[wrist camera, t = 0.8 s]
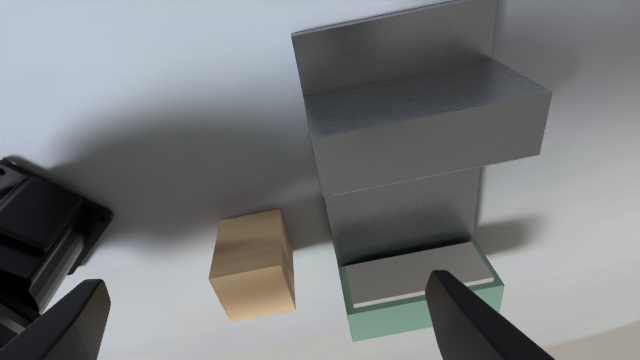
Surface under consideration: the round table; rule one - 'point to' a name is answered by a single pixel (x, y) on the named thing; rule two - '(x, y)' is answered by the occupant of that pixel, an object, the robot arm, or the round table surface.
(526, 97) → the grey angle bracket
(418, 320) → the block
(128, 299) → the round table surface
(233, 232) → the tan wooden block
